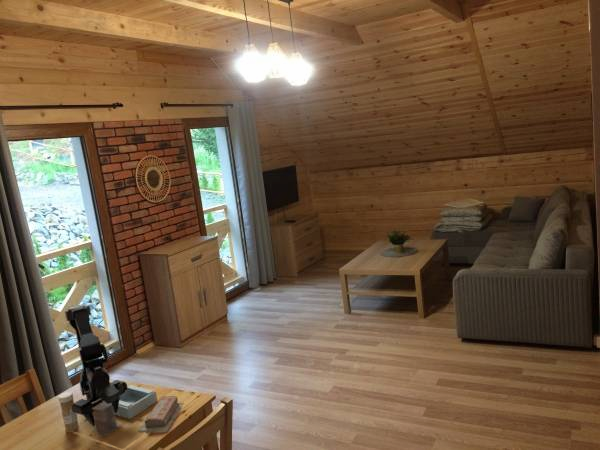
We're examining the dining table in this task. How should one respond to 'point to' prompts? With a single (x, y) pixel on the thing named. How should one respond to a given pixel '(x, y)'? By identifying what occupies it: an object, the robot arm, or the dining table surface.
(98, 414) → the block
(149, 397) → the grey open tray
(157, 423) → the packaged product
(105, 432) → the coaster
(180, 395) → the dining table surface
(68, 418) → the sprinkles bottle
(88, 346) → the robot arm
